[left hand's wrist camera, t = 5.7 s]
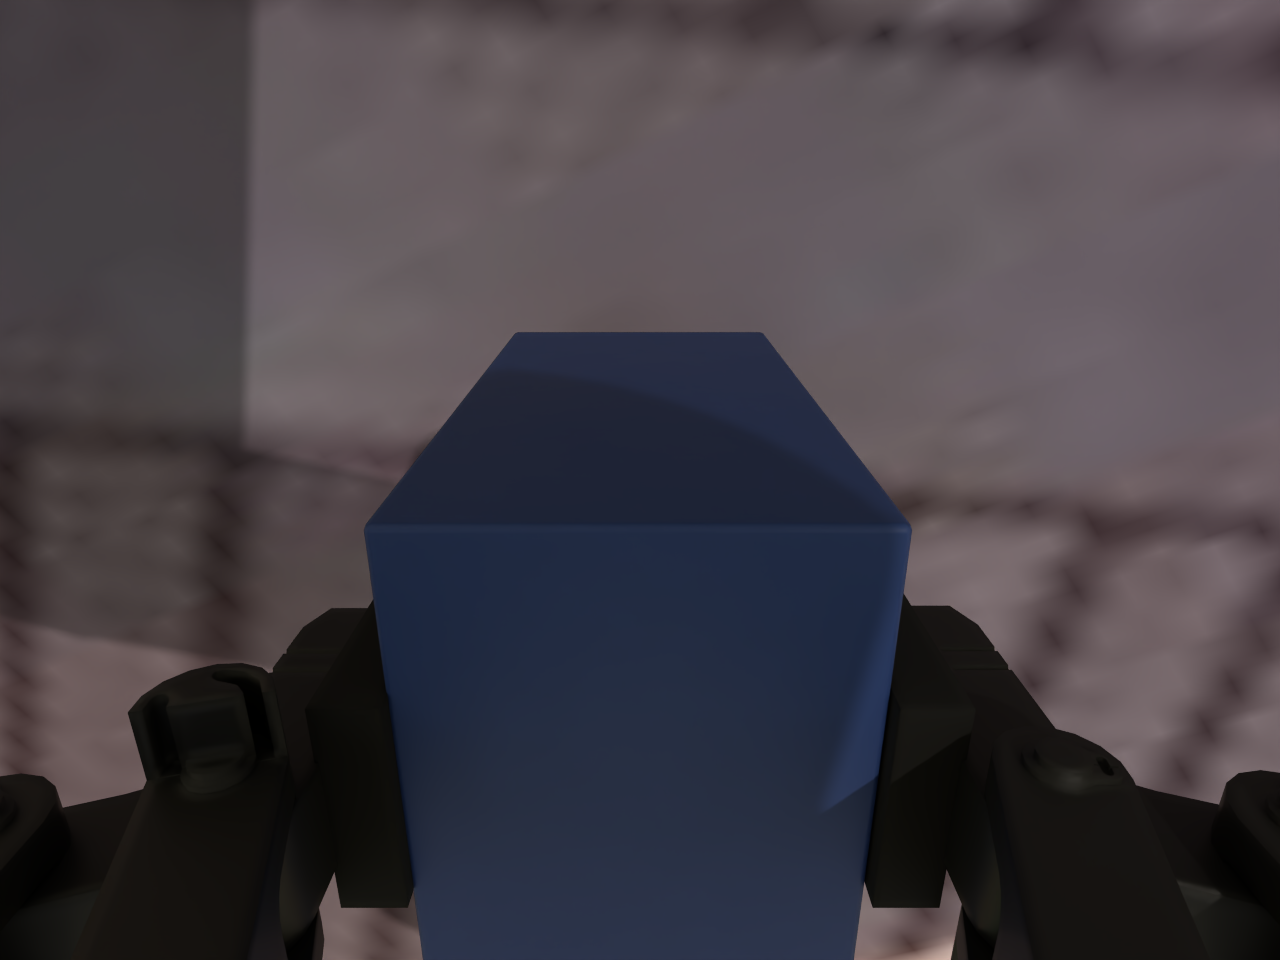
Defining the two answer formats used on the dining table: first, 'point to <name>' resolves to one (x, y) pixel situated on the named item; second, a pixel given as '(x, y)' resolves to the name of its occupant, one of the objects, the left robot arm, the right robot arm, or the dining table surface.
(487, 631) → the block
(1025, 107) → the dining table surface
